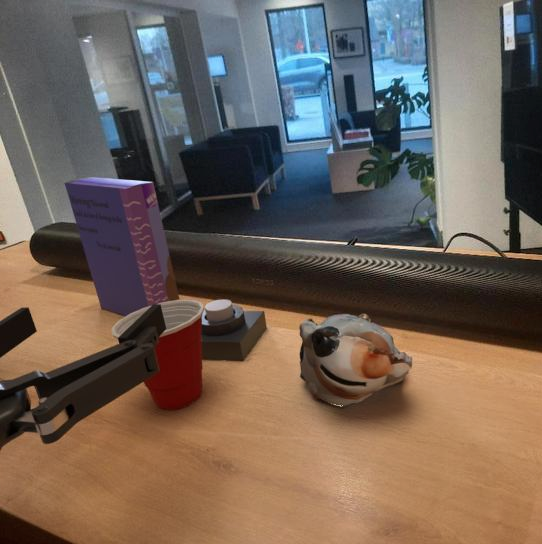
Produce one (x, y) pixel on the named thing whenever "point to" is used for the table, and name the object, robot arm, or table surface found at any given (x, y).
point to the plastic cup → (174, 353)
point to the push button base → (232, 335)
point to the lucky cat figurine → (349, 358)
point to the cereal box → (123, 242)
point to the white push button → (219, 310)
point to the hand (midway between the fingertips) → (94, 317)
